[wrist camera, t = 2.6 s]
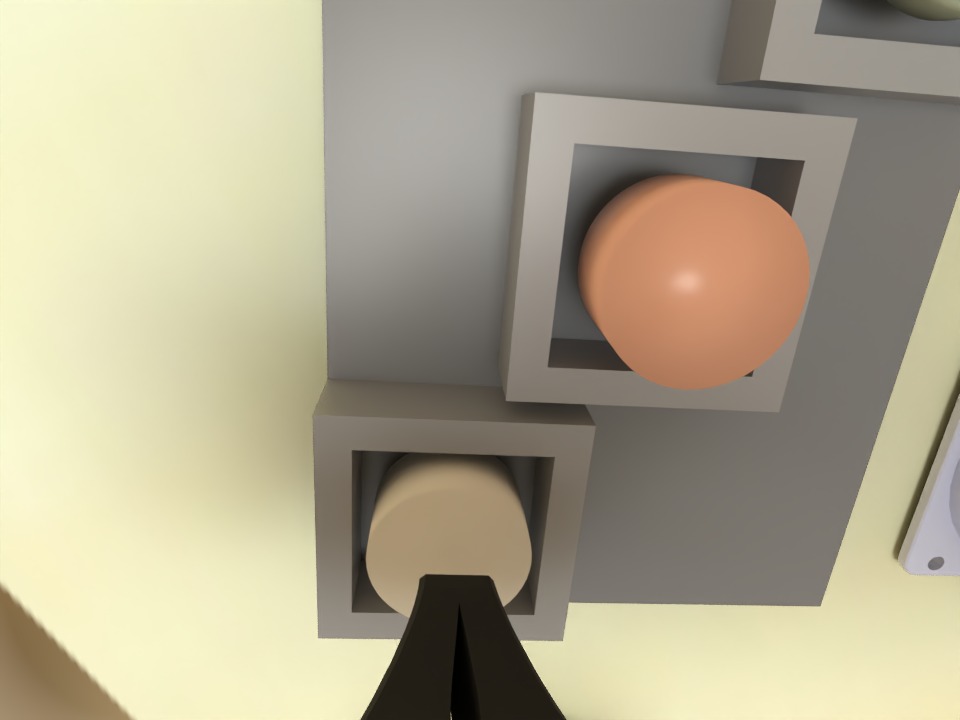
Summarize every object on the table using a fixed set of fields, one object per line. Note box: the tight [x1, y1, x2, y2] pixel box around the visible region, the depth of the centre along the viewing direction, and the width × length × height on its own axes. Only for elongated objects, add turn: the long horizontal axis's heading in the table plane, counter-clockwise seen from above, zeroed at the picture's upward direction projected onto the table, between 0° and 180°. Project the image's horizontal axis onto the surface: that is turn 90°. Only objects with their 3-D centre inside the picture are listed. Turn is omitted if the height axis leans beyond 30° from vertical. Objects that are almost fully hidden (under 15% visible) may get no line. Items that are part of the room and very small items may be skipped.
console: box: [313, 0, 960, 641], centre depth 14 cm, size 14×20×4 cm
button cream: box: [366, 452, 532, 618], centre depth 15 cm, size 4×4×2 cm
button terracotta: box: [577, 174, 810, 390], centre depth 12 cm, size 4×4×2 cm
